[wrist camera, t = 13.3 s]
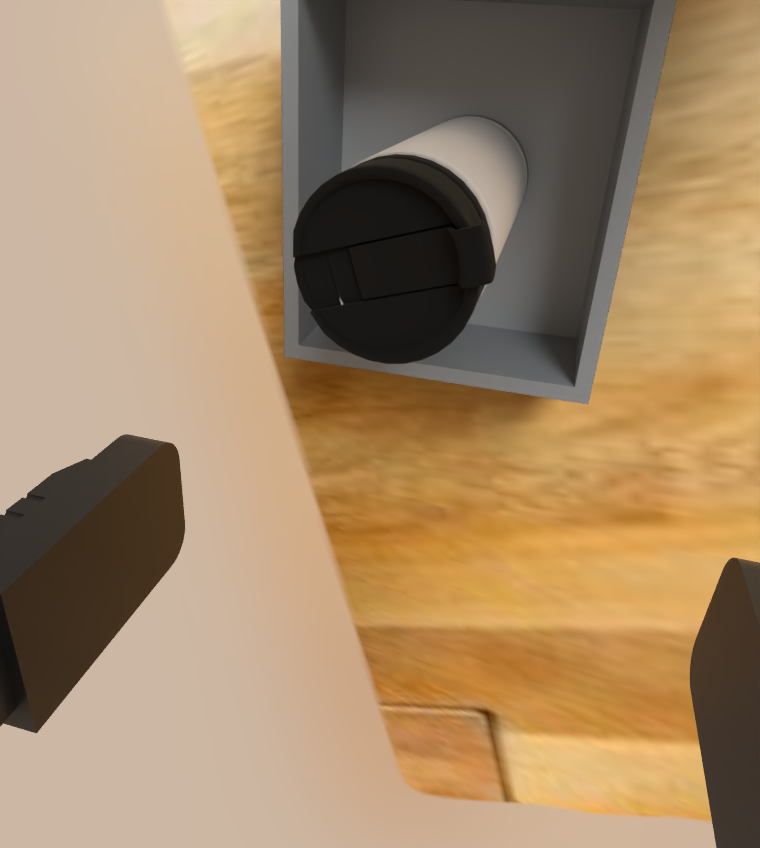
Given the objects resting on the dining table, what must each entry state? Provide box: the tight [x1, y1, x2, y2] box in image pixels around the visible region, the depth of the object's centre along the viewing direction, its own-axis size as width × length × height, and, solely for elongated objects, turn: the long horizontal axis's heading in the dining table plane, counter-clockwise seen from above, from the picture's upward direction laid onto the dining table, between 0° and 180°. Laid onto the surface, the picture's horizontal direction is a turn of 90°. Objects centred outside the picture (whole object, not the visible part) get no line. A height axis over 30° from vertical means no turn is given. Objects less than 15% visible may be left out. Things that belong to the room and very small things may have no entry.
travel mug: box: [293, 115, 529, 364], centre depth 29 cm, size 6×7×20 cm
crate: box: [281, 0, 677, 404], centre depth 35 cm, size 18×16×8 cm
